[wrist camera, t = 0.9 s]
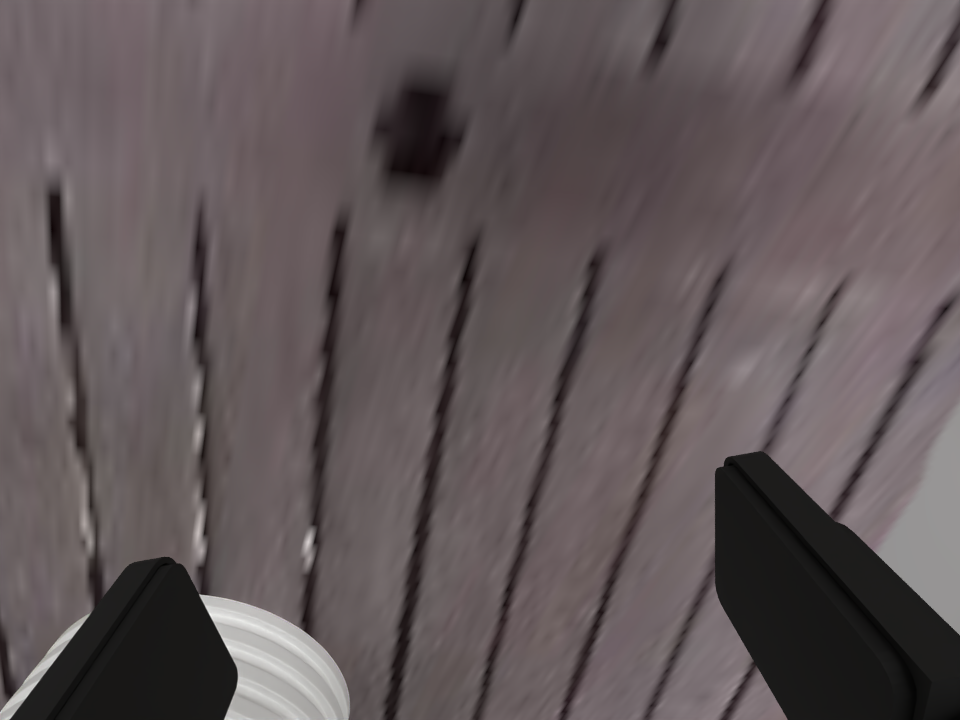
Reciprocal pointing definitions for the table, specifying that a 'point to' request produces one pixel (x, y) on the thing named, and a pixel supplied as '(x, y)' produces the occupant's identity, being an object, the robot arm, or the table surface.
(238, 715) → the plate stack
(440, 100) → the table surface
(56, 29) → the table surface
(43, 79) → the table surface
